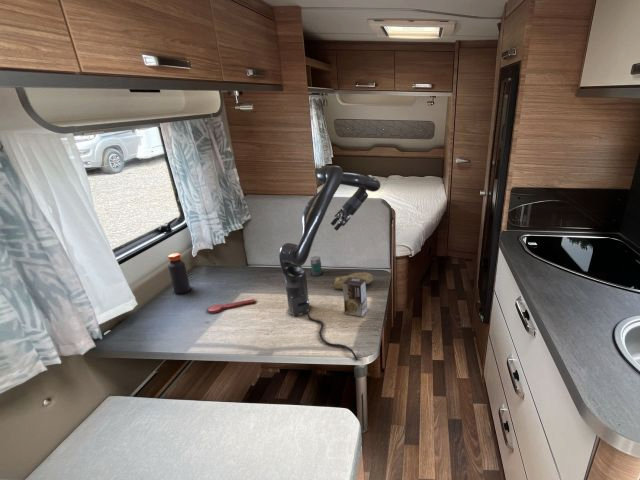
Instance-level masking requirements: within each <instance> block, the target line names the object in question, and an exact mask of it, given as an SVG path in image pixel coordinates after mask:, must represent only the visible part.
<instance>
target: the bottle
mask: <svg viewBox="0 0 640 480" xmlns="http://www.w3.org/2000/svg"><path fill="white" fill-rule="evenodd" d="M167 259H168V261H169V264H168V265H167V267H168V272H169V276H170V279H171V283H172V287H173V291H174V293H175V294H177V295H178V294H185V293H188V292H189V291H190V290H191V284H190V281H189V276H188V271H187V268H186V264H185V262H184V261H183V260H181V259H182V258H181V254H180V253H178V252H174V253H170V254H168V255H167Z"/></svg>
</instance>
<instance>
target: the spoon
mask: <svg viewBox="0 0 640 480" xmlns="http://www.w3.org/2000/svg"><path fill="white" fill-rule="evenodd" d="M251 304H252V305H253V304H255V298H252V299H247V300H242V301H235V302H231V303H225V304H222V303H215V304H212V305H210V306H208V308H207V312H208V313H210V314H216V313H219V312H221V311H222V310H227V309H231V308H236V307H242V306H246V305H251Z"/></svg>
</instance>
